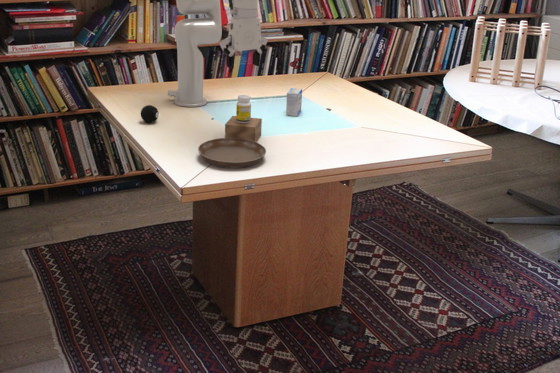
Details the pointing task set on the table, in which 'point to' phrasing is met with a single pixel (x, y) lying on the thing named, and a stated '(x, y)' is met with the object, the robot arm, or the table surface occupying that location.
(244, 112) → the supplement bottle
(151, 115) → the billiard ball
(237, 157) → the plant saucer
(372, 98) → the table surface
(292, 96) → the medicine box
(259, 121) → the walnut block
